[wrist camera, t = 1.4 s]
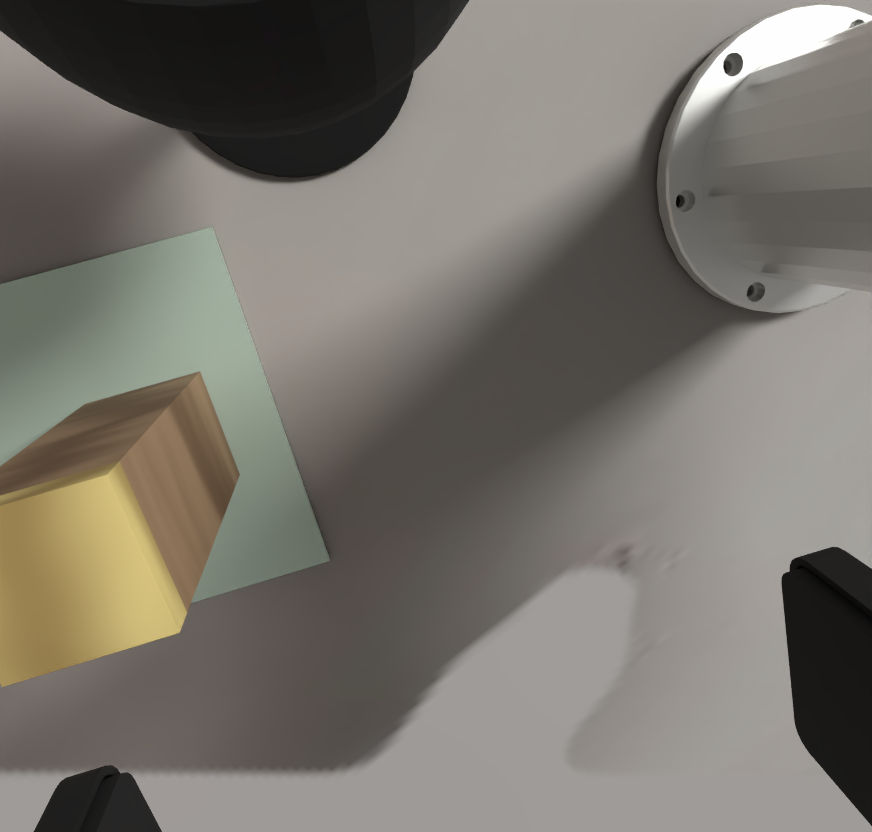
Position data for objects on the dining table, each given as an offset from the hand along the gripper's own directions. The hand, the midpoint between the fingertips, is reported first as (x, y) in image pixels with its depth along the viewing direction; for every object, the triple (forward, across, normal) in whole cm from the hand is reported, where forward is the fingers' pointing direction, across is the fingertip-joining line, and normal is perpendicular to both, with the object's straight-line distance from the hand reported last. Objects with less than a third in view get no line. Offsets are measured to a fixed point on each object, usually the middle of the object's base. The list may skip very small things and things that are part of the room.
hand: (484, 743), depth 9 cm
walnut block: (+22, +10, 0) cm, 24 cm away
